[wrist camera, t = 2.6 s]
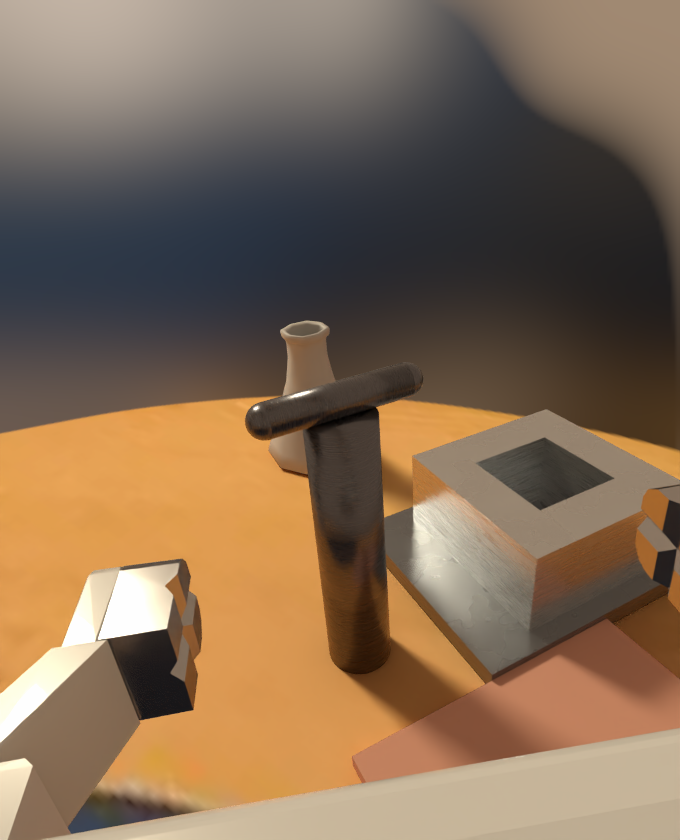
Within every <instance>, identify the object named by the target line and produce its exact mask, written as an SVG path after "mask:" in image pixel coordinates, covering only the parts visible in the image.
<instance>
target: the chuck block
mask: <svg viewBox="0 0 680 840" xmlns="http://www.w3.org/2000/svg"><path fill="white" fill-rule="evenodd" d="M412 466H413V507H411V508H409V509H406V510H404V511H401V512H398V513H396V514H393V515H391V516H388V517H385V518H384V529H385V549H386V567H387V568H388V569H389V570H390V571H391V573H392V574H393V575H394V576H395V577H396V578H397V580H398V581H399V582H400V583H401V584H402V586H403V587H404V588H405V589H406V590H407V591H408V593H409V594H410V595H411V596H412V597H413V598H414V600H415V601H416V602H417V603H418V604H419V606H420V607H421V608H422V609H423V610H424V611H425V613H426V614H427V615H428V616H429V617H430V618H431V620H432V621H433V622H434V623H435V624H436V626H437V627H438V628H439V629H440V630H441V631H442V633H443V634H444V635H445V636H446V637H447V639H448V640H449V641H450V642H451V643H452V644H453V646H454V647H455V648H456V649H457V650H458V651H459V653H460V654H461V655H462V656H463V657H464V659H465V660H466V661H467V662H468V663H469V664H470V666H471V667H472V668H473V669H474V670H475V671H476V673H477V674H478V675H479V676H480V677H481V679H482V680H483V681H484V682H485V683H486V684H487V683H489V682H490V681H492V680H494V679H496V678H498V677H500V676H501V675H503V674H505V673H507V672H509V671H511V670H513V669H514V668H516V667H518V666H520V665H522V664H524V663H526V662H527V661H529V660H531V659H533V658H535V657H537V656H538V655H540V654H542V653H544V652H546V651H548V650H550V649H551V648H553V647H555V646H557V645H559V644H561V643H562V642H564V641H566V640H568V639H570V638H572V637H574V636H575V635H577V634H579V633H581V632H583V631H585V630H587V629H588V628H590V627H592V626H594V625H596V624H598V623H599V622H601V621H603V620H605V619H608V620H609V621H610V622H611V623H614V622H616V621H617V620H619V619H621V618H623V617H625V616H627V615H628V614H630V613H632V612H634V611H636V610H637V609H639V608H641V607H643V606H645V605H647V604H648V603H650V602H652V601H654V600H656V599H658V598H659V597H661V596H663V595H665V594H667V593H668V587H666V586H664V585H662V584H659V583H657V582H655V581H653V580H652V579H651V578H650V577H649V575H648V574H647V573H646V572H645V570H644V569H643V567H642V565H641V563H640V561H639V559H638V555H637V550H636V545H635V541H636V533H637V528H638V527H639V526H640V525H641V523H642V522H643V521H644V520H645V519H646V518H647V516H646V515H645V513H644V512H643V511H642V509H641V505H642V500H643V496H644V495H645V493H646V492H647V490H648V489H652V488H659V487H665V486H672V485H678V484H680V480H678V479H677V478H675V477H673V476H671V475H669V474H667V473H665V472H663V471H662V470H660V469H658V468H656V467H654V466H652V465H650V464H648V463H646V462H645V461H643V460H641V459H639V458H637V457H635V456H633V455H631V454H630V453H628V452H626V451H624V450H622V449H620V448H618V447H616V446H615V445H613V444H611V443H609V442H607V441H605V440H603V439H601V438H599V437H598V436H596V435H594V434H592V433H590V432H588V431H586V430H584V429H583V428H581V427H579V426H577V425H575V424H573V423H571V422H569V421H567V420H566V419H564V418H562V417H560V416H558V415H556V414H554V413H552V412H551V411H549V410H547V409H546V410H543V411H540V412H537V413H534V414H532V415H529V416H526V417H523V418H520V419H517V420H514V421H511V422H509V423H506V424H503V425H500V426H497V427H494V428H491V429H488V430H486V431H483V432H480V433H477V434H474V435H471V436H468V437H466V438H463V439H460V440H457V441H454V442H451V443H448V444H445V445H443V446H440V447H437V448H434V449H431V450H428V451H425V452H422V453H420V454H417V455H414V456H412Z"/></svg>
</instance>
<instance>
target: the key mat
mask: <svg viewBox="0 0 680 840" xmlns="http://www.w3.org/2000/svg"><path fill="white" fill-rule="evenodd" d="M676 728H680V679H679V678H678V677H677V676H675V675H674V674H673V673H672V672H671V671H669V670H668V669H667V668H666V667H665V666H663V665H662V664H661V663H660V662H659V661H657V660H656V659H655V658H654V657H652V656H651V655H650V654H649V653H648V652H646V651H645V650H644V649H643V648H642V647H640V646H639V645H638V644H637V643H636V642H634V641H633V640H632V639H631V638H630V637H628V636H627V635H626V634H625V633H624V632H622V631H621V630H620V629H619V628H618V627H616V626H615V625H614V624H613V623H611V622H610V621H609V620H608V619H605V620H603V621H601V622H599V623H598V624H596V625H594V626H592V627H590V628H588V629H587V630H585V631H583V632H581V633H579V634H577V635H575V636H574V637H572V638H570V639H568V640H566V641H564V642H562V643H561V644H559V645H557V646H555V647H553V648H551V649H550V650H548V651H546V652H544V653H542V654H540V655H538V656H537V657H535V658H533V659H531V660H529V661H527V662H526V663H524V664H522V665H520V666H518V667H516V668H514V669H513V670H511V671H509V672H507V673H505V674H503V675H501V676H500V677H498V678H496V679H494V680H492V681H490V682H489V683H487V684H485V685H483V686H481V687H479V688H477V689H476V690H474V691H472V692H470V693H468V694H466V695H465V696H463V697H461V698H459V699H457V700H455V701H453V702H452V703H450V704H448V705H446V706H444V707H442V708H440V709H439V710H437V711H435V712H433V713H431V714H429V715H428V716H426V717H424V718H422V719H420V720H418V721H416V722H415V723H413V724H411V725H409V726H407V727H405V728H404V729H402V730H400V731H398V732H396V733H394V734H392V735H391V736H389V737H387V738H385V739H383V740H381V741H379V742H378V743H376V744H374V745H372V746H370V747H368V748H367V749H365V750H363V751H361V752H359V753H357V754H355V755H354V756H352V761H353V766H354V768H355V770H356V772H357V774H358V776H359V777H360V779H361V781H362V783H367V782H372V781H378V780H384V779H390V778H395V777H401V776H407V775H412V774H418V773H424V772H430V771H435V770H441V769H447V768H453V767H458V766H464V765H470V764H476V763H481V762H487V761H493V760H499V759H504V758H510V757H516V756H522V755H527V754H533V753H539V752H545V751H550V750H556V749H562V748H567V747H573V746H579V745H585V744H590V743H596V742H602V741H608V740H613V739H619V738H625V737H630V736H636V735H642V734H648V733H653V732H659V731H665V730H670V729H676Z"/></svg>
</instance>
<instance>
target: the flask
mask: <svg viewBox="0 0 680 840" xmlns="http://www.w3.org/2000/svg"><path fill="white" fill-rule="evenodd" d="M329 331H330V330H329V327H327V326H326V325H325V324H323V323H322V322H314V321H303V322H299V323H294V324H290V325H288V326H287V327H285V328H284V329H282V330H281V335H282V337H283V338H284V339H285V340H286V343H287V352H288V367H287V380H286V385H285V389H284V393H283V396H285V395H288V394H292V393H295V392H299V391H303V390H306V389H310V388H313V387H317V386H320V385H324V384H328V383H331V382H335V379H334V376H333V373H332V369H331V366H330V363H329V359H328V356H327V347H326V336H328V335H329ZM269 452H270V453H271V455H272V456H273V457H274V459H275V460H276V462H277V463H278V465H279V466H280V468H283V469H287V470H291V471H295V472H299V473H303V474H307V475H308V471H307V463H306V454H305V446H304V438H303V430H300V431H297V432H294V433H290V434H287V435H284V436H281V437H277V438H274V439H271V442H270V446H269Z"/></svg>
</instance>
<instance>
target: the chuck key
mask: <svg viewBox="0 0 680 840" xmlns="http://www.w3.org/2000/svg"><path fill="white" fill-rule="evenodd" d="M422 385H423V374H422V372H421V370H420V369H419V368H418V367H417V366H416V365H414V364H412V363H408V362H404V363H399V364H395V365H392V366H388V367H385V368H381V369H378V370H374V371H371V372H367V373H364V374H360V375H356V376H353V377H349V378H345V379H342V380H338V381H335V382H331V383H328V384H324V385H320V386H317V387H313V388H310V389H306V390H303V391H299V392H295V393H292V394H288V395H285V396H281V397H278V398H274V399H270V400H267V401H263V402H260V403H257V404H255V405H253V406H252V407H251V408H250V409H249V411H248V412H247V414H246V418H245V425H246V428H247V430H248V432H249V433H250V434H251V435H252V436H253V437H254V438H256V439H258V440H271V439H274V438H277V437H281V436H284V435H287V434H290V433H294V432H297V431H300V430H303V438H304V446H305V454H306V463H307V471H308V479H309V487H310V495H311V504H312V512H313V520H314V528H315V536H316V545H317V553H318V561H319V569H320V577H321V586H322V594H323V602H324V610H325V618H326V627H327V635H328V643H329V651H330V656H331V659H332V661H333V662H334V663H335V664H336V665H337V666H338V667H339V668H340V669H342V670H344V671H346V672H349V673H354V674H364V673H369V672H372V671H374V670H376V669H378V668H379V667H381V666H382V665H383V664H384V663H385V662H386V660H387V659H388V657H389V654H390V630H389V609H388V589H387V569H386V549H385V529H384V509H383V489H382V468H381V448H380V428H379V412H378V409H377V408H376V407H379V406H382V405H385V404H388V403H392V402H395V401H398V400H401V399H405V398H408V397H411V396H414V395H415V394H417V393H418V392H419V391H420V389H421V387H422Z"/></svg>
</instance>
